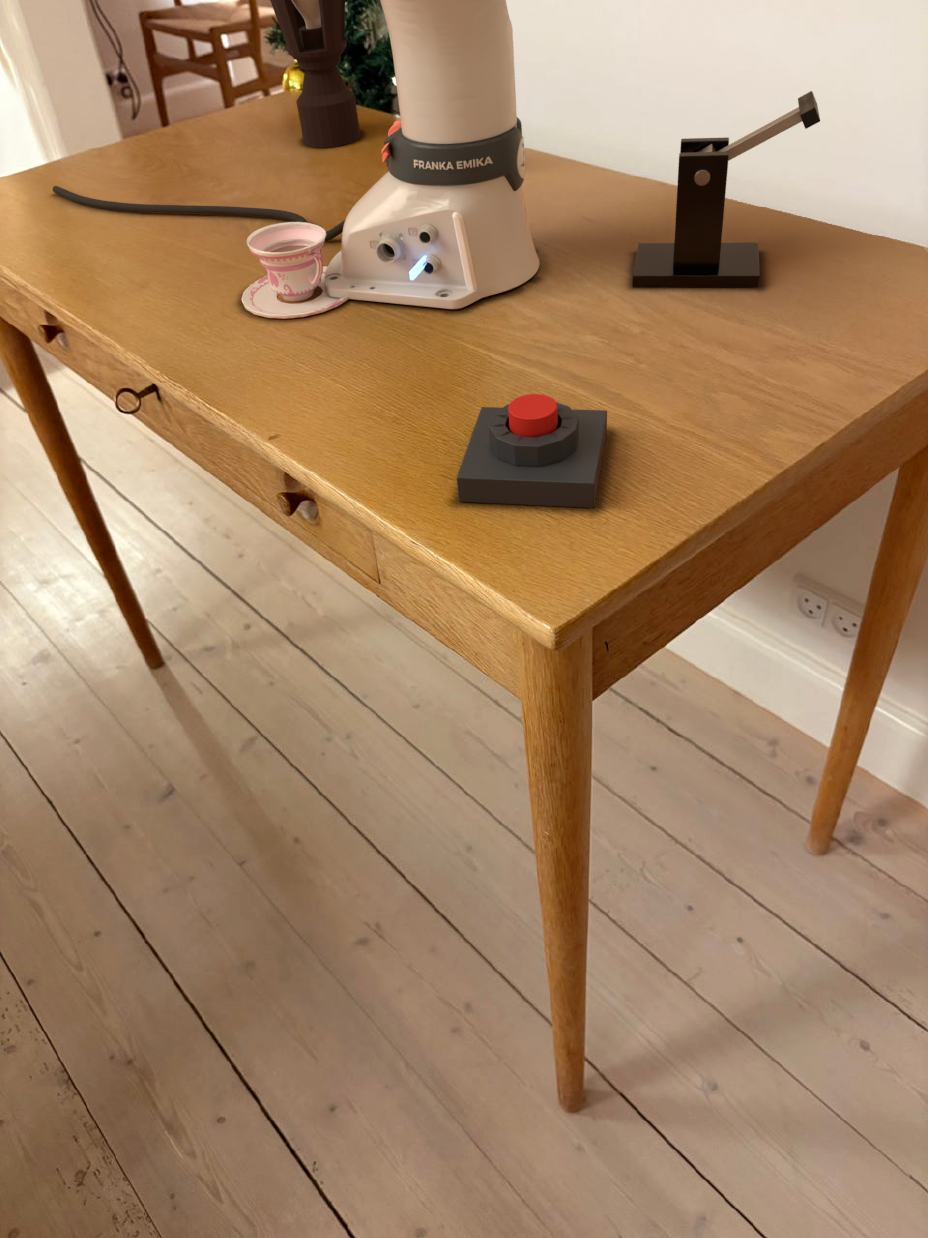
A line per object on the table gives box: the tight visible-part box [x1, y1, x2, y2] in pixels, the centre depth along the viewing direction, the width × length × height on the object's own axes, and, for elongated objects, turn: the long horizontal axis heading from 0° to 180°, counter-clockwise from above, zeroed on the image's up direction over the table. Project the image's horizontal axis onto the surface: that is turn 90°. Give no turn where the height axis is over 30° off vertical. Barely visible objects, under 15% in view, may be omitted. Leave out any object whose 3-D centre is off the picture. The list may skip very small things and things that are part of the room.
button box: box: [456, 401, 608, 509], centre depth 76 cm, size 10×10×4 cm
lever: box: [698, 90, 821, 162], centre depth 92 cm, size 12×5×2 cm, turn 79°
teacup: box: [240, 221, 349, 320], centre depth 103 cm, size 12×12×6 cm
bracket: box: [631, 137, 761, 289], centre depth 97 cm, size 12×8×12 cm, turn 79°
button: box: [508, 393, 558, 437], centre depth 74 cm, size 4×4×2 cm
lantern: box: [269, 0, 361, 149], centre depth 134 cm, size 15×15×30 cm
